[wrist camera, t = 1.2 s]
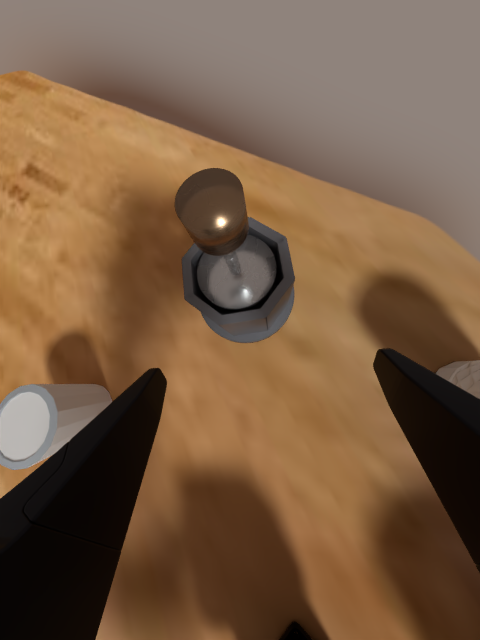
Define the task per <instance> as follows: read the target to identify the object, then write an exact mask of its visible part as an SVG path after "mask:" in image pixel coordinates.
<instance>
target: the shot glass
mask: <svg viewBox="0 0 480 640" xmlns="http://www.w3.org/2000/svg"><path fill="white" fill-rule="evenodd" d="M111 403H112V399H111V396H110V394H109V392H108V391H107V390H106V389H105V388H104V387H103V386H101V385H97V384H31V385H25V386H20V387H19V388H17V389H15V390H14V391H12V392H11V393H9V394H8V395H7V396H6V398H5V399H4V400H3V401H2V403H1V404H0V464H1V465H3V466H5V467H7V468H9V469H12V470H17V469H25V468H28V467H30V466H32V465H34V464H36V463H38V462H40V461H42V460H44V459H46V458H48V457H50V456H52V455H53V454H55V453H56V452H57V451H58V450H59V449H60V448H61V447H63V446H64V445H65V444H66V443H67V442H69V441H70V439H72V438H73V437H74V436H75V435H76V434H77V433H78V432H79V431H80V430H82V429H83V428H84V427H85V426H86V425H87V424H88V423H89V422H91V421H92V420H93V419H94V418H95V417H96V416H97V415H98V414H99V413H101V412H102V411H103V410H104V409H105V408H106V407H107V406H108V405H110V404H111Z"/></svg>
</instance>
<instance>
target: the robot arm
mask: <svg viewBox="0 0 480 640" xmlns="http://www.w3.org/2000/svg"><path fill="white" fill-rule="evenodd" d="M373 367H374V370H375V373H376V375H377V378H378V380H379V383H380V385H381V388H382V390H383V392H384V395H385V397H386V400H387V402H388V404H389V406H390V408H391V410H392V412H393V414H394V416H395V418H396V420H397V422H398V423H399V425H400V427H401V429H402V431H403V433H404V434H405V436H406V438H407V440H408V442H409V444H410V445H411V447H412V449H413V451H414V453H415V455H416V456H417V458H418V460H419V462H420V464H421V466H422V467H423V469H424V471H425V473H426V475H427V477H428V478H429V480H430V482H431V484H432V486H433V488H434V489H435V491H436V493H437V495H438V497H439V499H440V500H441V502H442V504H443V506H444V508H445V510H446V512H447V513H448V515H449V517H450V519H451V521H452V523H453V524H454V526H455V528H456V530H457V532H458V534H459V535H460V537H461V539H462V541H463V543H464V545H465V546H466V548H467V550H468V552H469V554H470V556H471V557H472V559H473V561H474V563H475V564H476V567H477V569H478V571H479V573H480V399H479V398H477V397H475V396H474V395H472V394H470V393H468V392H467V391H465V390H463V389H461V388H460V387H458V386H456V385H454V384H453V383H451V382H449V381H447V380H446V379H444V378H442V377H440V376H439V375H437V374H435V373H433V372H432V371H430V370H428V369H426V368H425V367H423V366H421V365H419V364H418V363H416V362H414V361H412V360H411V359H409V358H407V357H405V356H404V355H402V354H400V353H398V352H397V351H395V350H393V349H391V348H386V349H379V350H378V351H377V353H376V357H375V360H374V363H373ZM166 386H167V380H166V378H165V376H164V375H163V373H162V371H161V370H160V369H159V368H151V369H149V370H148V371H146V372H145V373H144V374H143V375H142V376H141V377H140V378H139V379H137V380H136V381H135V382H134V383H133V384H132V385H131V386H130V387H129V388H127V389H126V390H125V391H124V392H123V393H122V394H121V395H120V396H118V397H117V398H116V399H115V400H114V401H113V402H112V403H111V404H110V405H108V406H107V407H106V408H105V409H104V410H103V411H102V412H101V413H99V414H98V415H97V416H96V417H95V418H94V419H93V420H92V421H91V422H89V423H88V424H87V425H86V426H85V427H84V428H83V429H82V430H80V431H79V432H78V433H77V434H76V435H75V436H74V437H73V438H72V439H70V441H69V442H67V443H66V444H65V445H64V446H63V447H61V448H60V449H59V450H58V451H57V452H56V453H55V454H53V455H52V456H51V457H50V458H49V459H48V460H47V461H45V462H44V463H43V464H42V465H41V466H40V467H38V468H37V469H36V470H35V471H34V472H32V473H31V474H30V475H29V476H28V477H26V478H25V479H24V480H23V481H22V482H20V483H19V484H18V485H17V486H15V487H14V488H13V489H12V490H11V491H9V492H8V493H7V494H6V495H4V496H3V497H2V498H1V499H0V640H95V639H96V635H97V632H98V628H99V625H100V622H101V618H102V615H103V612H104V608H105V605H106V601H107V598H108V595H109V591H110V588H111V585H112V581H113V578H114V574H115V571H116V568H117V564H118V561H119V557H120V554H121V550H122V547H123V543H124V540H125V537H126V533H127V530H128V526H129V523H130V520H131V516H132V513H133V509H134V506H135V503H136V499H137V496H138V493H139V489H140V486H141V482H142V479H143V476H144V472H145V469H146V465H147V462H148V459H149V455H150V452H151V449H152V445H153V442H154V438H155V435H156V432H157V428H158V425H159V421H160V417H161V413H162V408H163V402H164V397H165V392H166ZM294 632H297V634H295V633H294ZM280 640H312V639H311V638H310V637H309V635H308V634H307V633H306V632H305V631H304V629H303V628H302V627H301V626H300V625H299V624H298V623H296V622H292V623H291V624H290V626H289V627H288V629H287V630H286V631H285V633H284V634H283V636H282V637H281V638H280Z"/></svg>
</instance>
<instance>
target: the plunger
mask: <svg viewBox="0 0 480 640" xmlns="http://www.w3.org/2000/svg"><path fill="white" fill-rule="evenodd" d="M175 210H176V213H177V215H178V217H179V219H180V220H181V222H182V223H183V225H184V226H185V228H186V230H187V231H188V233H189V234H190V236H191V238H192V239H193V241H194V242H195V244H196V245H197V247H198V248H199V249H200V250H201V251H203V252H204V253H203V255H202V257H201V258H200V261H199V264H198V269H197V279H198V284H199V287H200V289H201V291H202V292H203V294H204V295H205V296H206V297H207V298H208V299H209V300H210V301H211V302H212V303H213V304H215V305H216V306H218V307H221V308H223V309H227V310H243V309H247V308H250V307H252V306H254V305H256V304H258V303H259V302H261V301H262V300H263V299H264V298H265V297H266V296H267V295H268V294H269V292H270V291H271V289H272V287H273V285H274V282H275V278H276V261H275V257H274V255H273V253H272V251H271V249H270V248H269V247H268V245H267V244H265V243H264V242H263V241H262V240H260V239H259V238H257V237H254V236H251V235H248V231H249V223H248V217H247V211H246V204H245V198H244V192H243V187H242V184H241V182H240V180H239V179H238V178H237V176H235V175H234V174H233V173H231V172H230V171H227V170H224V169H220V168H210V169H205V170H202V171H199V172H197V173H195V174H193V175H192V176H190V177H189V178H188V179H186V180H185V181H184V183H183V184H182V185H181V186H180V188H179V190H178V192H177V194H176V198H175Z"/></svg>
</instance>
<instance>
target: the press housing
mask: <svg viewBox="0 0 480 640" xmlns="http://www.w3.org/2000/svg"><path fill="white" fill-rule="evenodd" d="M248 223H249V231H248V235H251V236H254V237H257V238H259V239H260V240H262V241H263V242H264V243H265V244H267V245H268V247H269V248H270V249H271V251H272V253H273V255H274V257H275V261H276V278H275V282H274V285H273V287H272V289H271V291H270V292H269V294H268V295H267V296H266V297H265V298H264V299H263V300H262V301H261V302H259V303H258V304H256V305H254V306H252V307H250V308H247V309H243V310H227V309H223V308H221V307H218V306H216V305H215V304H213V303H212V302H211V301H210V300H209V299H208V298H207V297H206V296H205V295H204V294H203V292H202V291H201V289H200V287H199V284H198V279H197V269H198V264H199V261H200V258H201V257H202V255H203V253H204V252H203V251H201V250H200V249H199V248H198V247H197V245H196V244H195V243H194V244H193V245H192V247H191V248H190V249H189V250H188V252H187V253H186V254H185V255H184V257H183V258H182V271H183V285H184V299H185V300H186V301H187V302H189V303H190V304H191V305H193V306H194V307H195V308H197V309H198V310H199V311H201V313H202V316H203V318H204V320H205V321H206V323H207V324H208V326H209V327H210V328H211V329H212V330H213V331H214V332H215V333H217V334H218V335H220V336H222V337H224V338H226V339H228V340H230V341H233V342H238V343H253V342H258V341H261V340H264V339H266V338H268V337H270V336H271V335H273V334H274V333H276V332H277V331H278V330H279V329H280V328H281V327H282V326H283V325H284V323H285V322H286V320H287V319H288V317H289V315H290V312H291V310H292V306H293V302H294V287H293V284H294V281H295V276H294V272H293V267H292V262H291V257H290V252H289V248H288V243H287V238H286V237H285V236H283V235H281V234H280V233H278V232H276V231H274V230H272V229H271V228H269V227H267V226H265V225H263V224H262V223H260V222H258V221H256V220H255V219H253V218H251V217H250V218H249V217H248Z"/></svg>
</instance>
